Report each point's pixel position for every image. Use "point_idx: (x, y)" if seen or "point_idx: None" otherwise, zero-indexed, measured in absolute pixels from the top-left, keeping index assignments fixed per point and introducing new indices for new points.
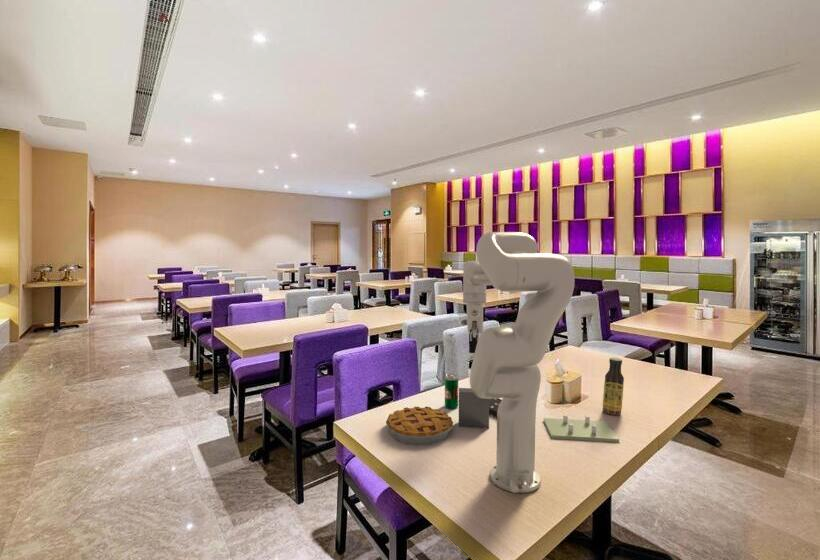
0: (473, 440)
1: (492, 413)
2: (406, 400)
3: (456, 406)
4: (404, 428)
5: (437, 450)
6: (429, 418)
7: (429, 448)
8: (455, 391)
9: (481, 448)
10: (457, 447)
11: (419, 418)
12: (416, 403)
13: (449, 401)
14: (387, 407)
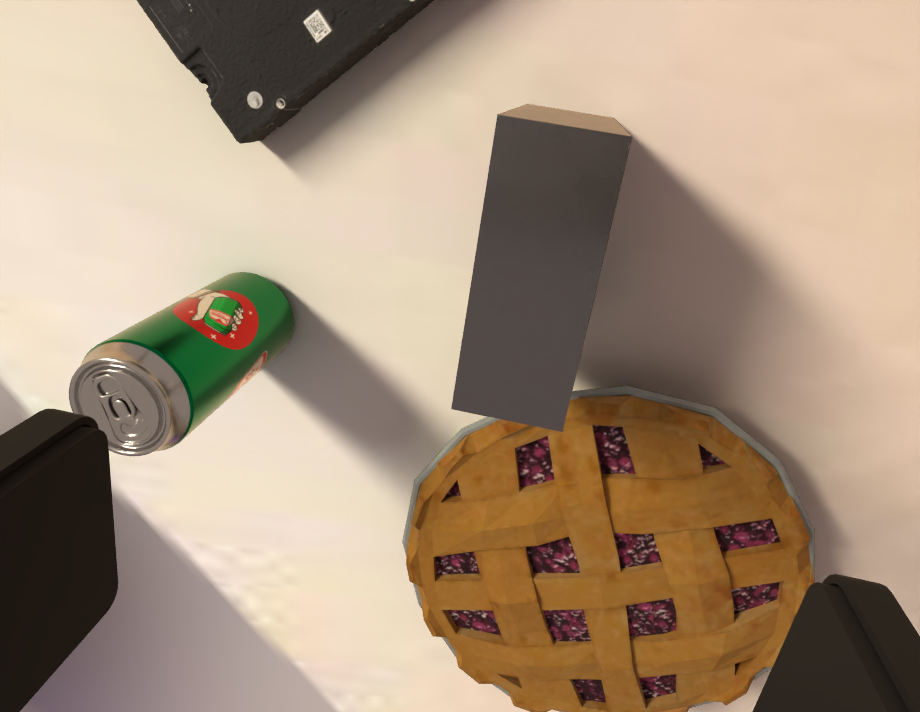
0: (777, 264)
1: (382, 37)
2: (190, 549)
3: (277, 290)
4: (721, 668)
5: (860, 485)
6: (614, 536)
7: (826, 520)
8: (231, 336)
9: (902, 235)
10: (851, 377)
11: (621, 594)
12: (226, 505)
13: (273, 351)
14: (298, 643)
